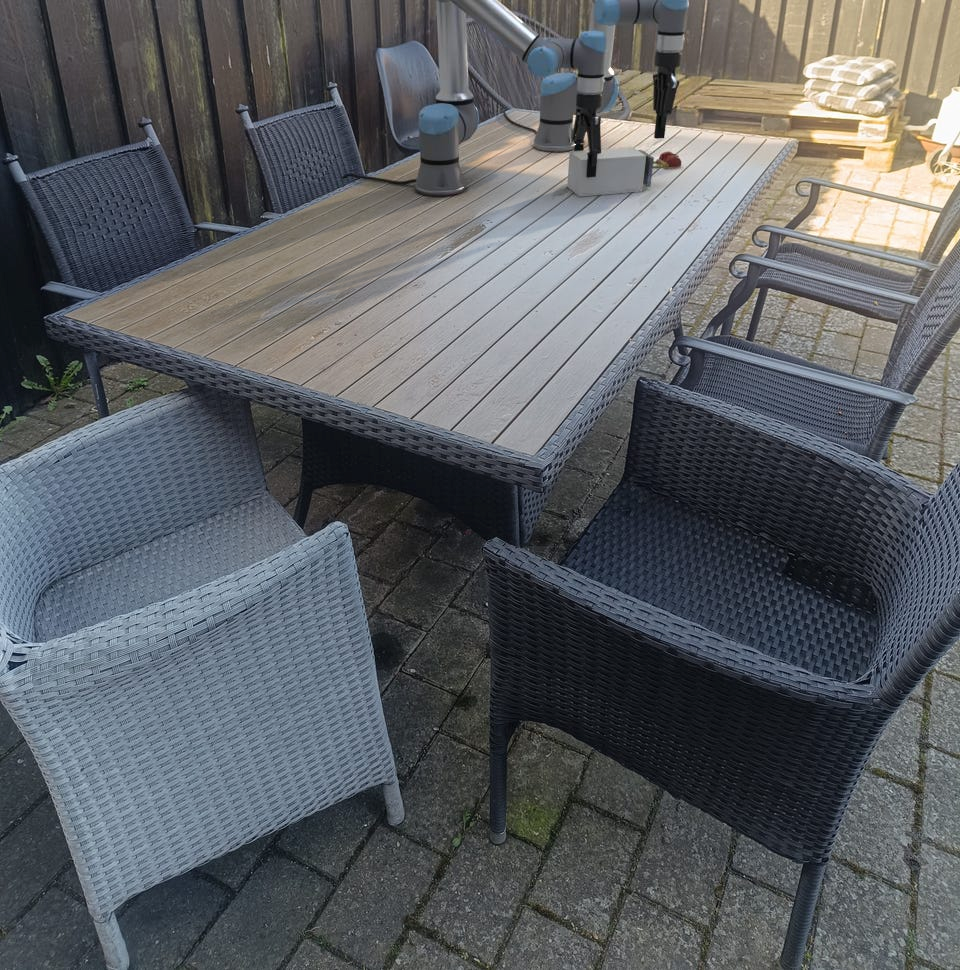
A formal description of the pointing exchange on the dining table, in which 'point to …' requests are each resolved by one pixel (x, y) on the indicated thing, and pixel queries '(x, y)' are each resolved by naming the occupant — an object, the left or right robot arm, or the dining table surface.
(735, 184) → the dining table surface
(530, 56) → the left robot arm
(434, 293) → the dining table surface
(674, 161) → the dental model
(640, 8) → the right robot arm
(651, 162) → the drawer
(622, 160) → the grey rectangular block
